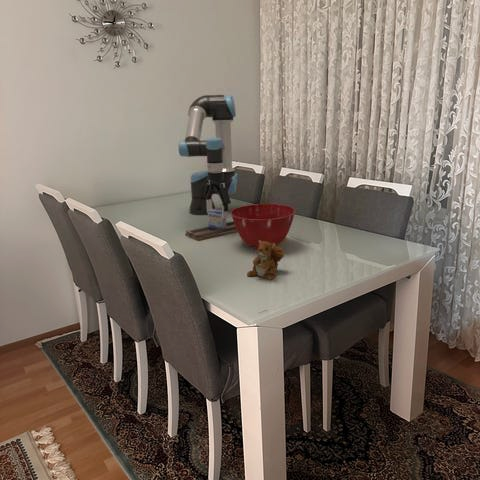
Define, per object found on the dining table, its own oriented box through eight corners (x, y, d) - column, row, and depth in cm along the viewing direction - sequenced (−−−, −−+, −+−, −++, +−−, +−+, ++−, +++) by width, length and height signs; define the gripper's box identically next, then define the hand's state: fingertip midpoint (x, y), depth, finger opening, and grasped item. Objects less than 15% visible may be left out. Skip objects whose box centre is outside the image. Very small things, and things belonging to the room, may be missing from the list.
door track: (185, 235, 219) (184, 230, 219) (235, 224, 236) (235, 219, 235) (198, 241, 210) (197, 235, 209) (249, 229, 227) (249, 224, 226)
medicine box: (208, 227, 222) (207, 210, 220) (213, 225, 226) (212, 208, 224) (222, 229, 219) (221, 211, 216) (226, 227, 223) (226, 209, 220)
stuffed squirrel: (245, 276, 166) (244, 242, 162) (265, 265, 177) (265, 233, 173) (268, 282, 161) (268, 247, 157) (288, 270, 172) (288, 237, 168)
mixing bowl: (241, 257, 187) (240, 221, 182) (224, 238, 213) (223, 206, 208) (305, 250, 194) (305, 215, 189) (281, 232, 220) (281, 201, 215)
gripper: (195, 169, 222) (197, 211, 228) (223, 175, 203) (225, 221, 209) (208, 167, 226) (210, 209, 233) (237, 173, 207) (238, 218, 213)
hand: (217, 215), depth 221 cm, fingers open, 13 cm apart
